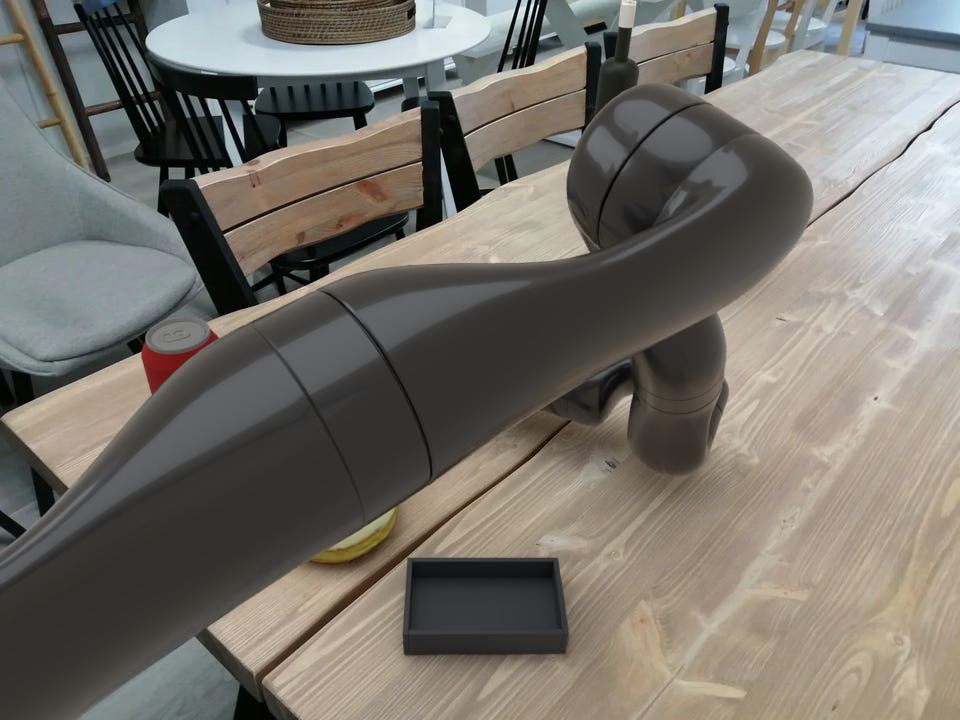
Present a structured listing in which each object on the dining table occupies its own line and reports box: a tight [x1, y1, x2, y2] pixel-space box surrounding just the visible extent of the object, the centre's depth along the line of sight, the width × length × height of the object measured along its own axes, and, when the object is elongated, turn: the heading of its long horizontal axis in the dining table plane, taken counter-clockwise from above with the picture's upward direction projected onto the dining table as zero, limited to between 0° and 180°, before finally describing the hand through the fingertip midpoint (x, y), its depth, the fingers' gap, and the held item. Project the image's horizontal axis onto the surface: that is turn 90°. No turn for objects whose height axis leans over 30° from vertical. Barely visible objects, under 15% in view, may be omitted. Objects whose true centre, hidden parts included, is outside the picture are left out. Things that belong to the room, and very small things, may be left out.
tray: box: [402, 557, 570, 656], centre depth 56 cm, size 12×7×2 cm, turn 92°
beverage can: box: [140, 316, 220, 395], centre depth 68 cm, size 7×7×12 cm
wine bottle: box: [593, 0, 640, 118], centre depth 112 cm, size 6×6×30 cm
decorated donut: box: [310, 504, 400, 564], centre depth 62 cm, size 10×11×4 cm
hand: (369, 317), depth 78 cm, fingers closed on cup, 6 cm apart
